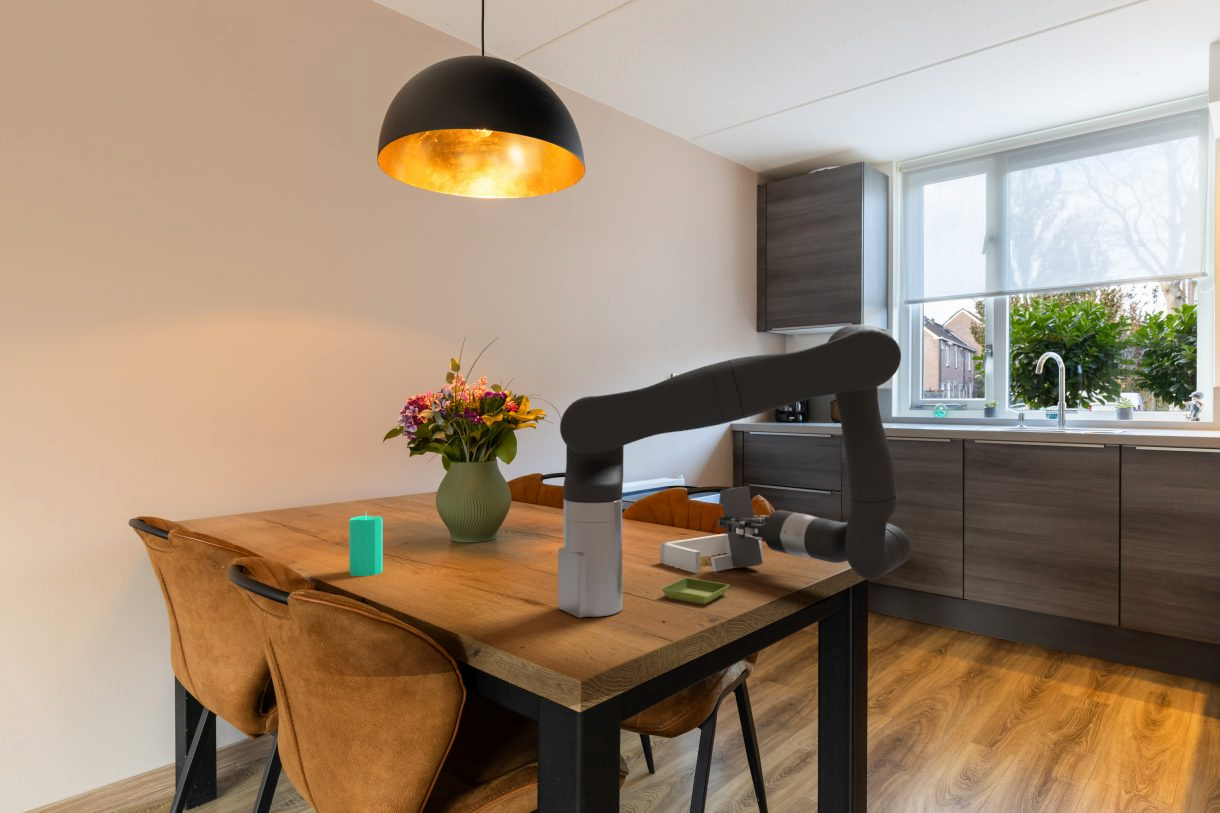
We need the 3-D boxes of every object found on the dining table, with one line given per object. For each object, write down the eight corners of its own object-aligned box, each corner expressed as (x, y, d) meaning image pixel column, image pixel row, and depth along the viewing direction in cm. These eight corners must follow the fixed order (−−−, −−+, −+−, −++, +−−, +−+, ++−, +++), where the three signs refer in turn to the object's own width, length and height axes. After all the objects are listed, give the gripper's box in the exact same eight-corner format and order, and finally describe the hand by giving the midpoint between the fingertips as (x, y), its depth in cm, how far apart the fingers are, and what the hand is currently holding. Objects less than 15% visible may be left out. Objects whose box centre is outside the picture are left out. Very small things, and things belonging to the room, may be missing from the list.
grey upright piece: (730, 571, 129) (716, 491, 130) (712, 571, 133) (699, 493, 135) (778, 558, 136) (764, 483, 138) (760, 559, 140) (746, 485, 142)
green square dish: (707, 609, 109) (707, 596, 109) (659, 600, 114) (659, 588, 114) (730, 596, 117) (730, 584, 117) (685, 588, 121) (685, 577, 121)
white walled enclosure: (695, 573, 131) (695, 552, 131) (660, 563, 140) (660, 543, 140) (762, 560, 142) (762, 541, 142) (725, 551, 150) (725, 533, 150)
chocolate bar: (697, 566, 139) (697, 555, 139) (750, 562, 142) (750, 551, 142) (702, 569, 136) (702, 558, 136) (757, 565, 140) (757, 554, 140)
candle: (372, 576, 129) (372, 512, 129) (343, 575, 130) (343, 511, 130) (388, 569, 135) (388, 507, 135) (359, 568, 136) (359, 507, 136)
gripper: (822, 509, 128) (753, 498, 142) (769, 517, 119) (701, 504, 134) (822, 550, 128) (753, 535, 142) (769, 560, 120) (701, 543, 134)
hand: (728, 520), depth 138 cm, fingers closed on grey upright piece, 4 cm apart
